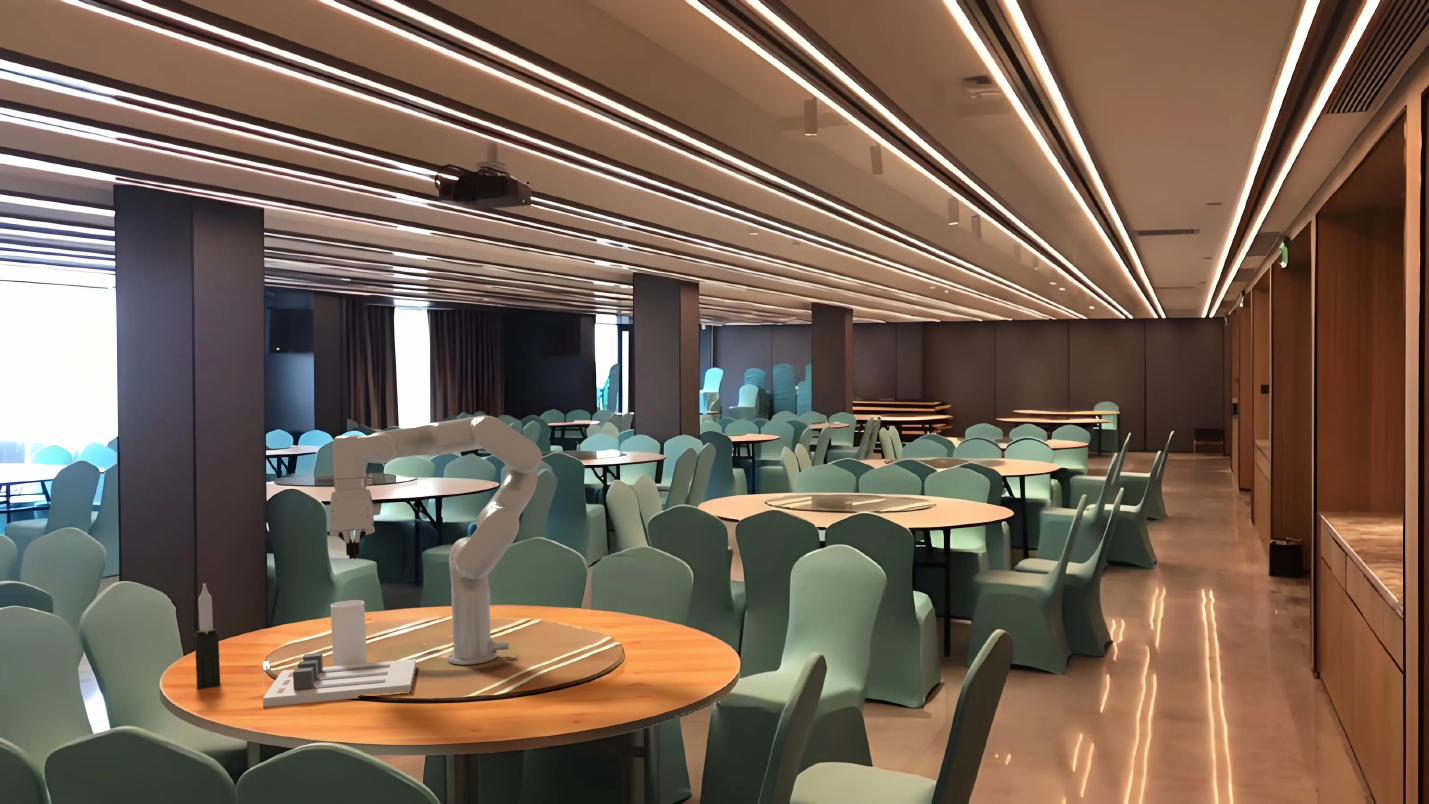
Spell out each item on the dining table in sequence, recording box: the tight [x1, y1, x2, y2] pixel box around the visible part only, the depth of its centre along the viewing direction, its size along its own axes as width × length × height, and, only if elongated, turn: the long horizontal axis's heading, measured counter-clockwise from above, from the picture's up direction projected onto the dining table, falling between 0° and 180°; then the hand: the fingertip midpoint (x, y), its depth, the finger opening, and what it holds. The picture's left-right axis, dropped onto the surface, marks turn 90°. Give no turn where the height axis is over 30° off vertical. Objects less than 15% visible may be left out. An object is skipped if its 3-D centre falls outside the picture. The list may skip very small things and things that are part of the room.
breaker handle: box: [297, 660, 318, 680], centre depth 250 cm, size 4×3×4 cm
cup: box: [330, 599, 368, 666], centre depth 271 cm, size 8×8×16 cm
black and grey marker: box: [194, 582, 221, 690], centre depth 256 cm, size 5×5×25 cm
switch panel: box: [262, 652, 417, 708], centre depth 252 cm, size 32×24×6 cm
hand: (353, 557), depth 261 cm, fingers closed
